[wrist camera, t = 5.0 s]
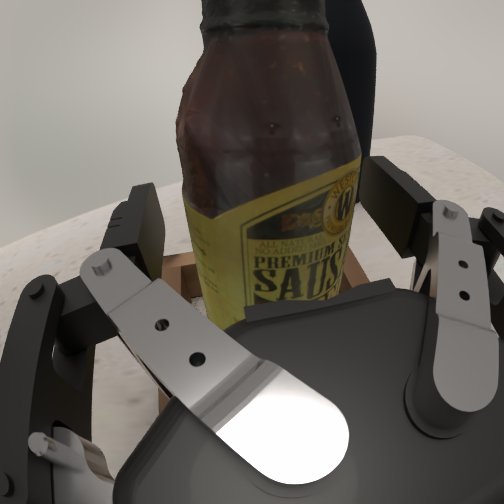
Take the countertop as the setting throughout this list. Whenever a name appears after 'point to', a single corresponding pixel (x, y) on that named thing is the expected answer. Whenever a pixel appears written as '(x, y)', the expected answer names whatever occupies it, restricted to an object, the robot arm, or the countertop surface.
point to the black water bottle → (355, 64)
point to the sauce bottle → (267, 157)
